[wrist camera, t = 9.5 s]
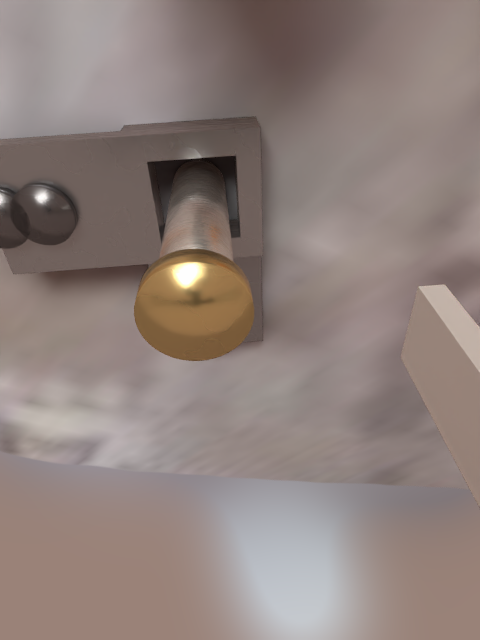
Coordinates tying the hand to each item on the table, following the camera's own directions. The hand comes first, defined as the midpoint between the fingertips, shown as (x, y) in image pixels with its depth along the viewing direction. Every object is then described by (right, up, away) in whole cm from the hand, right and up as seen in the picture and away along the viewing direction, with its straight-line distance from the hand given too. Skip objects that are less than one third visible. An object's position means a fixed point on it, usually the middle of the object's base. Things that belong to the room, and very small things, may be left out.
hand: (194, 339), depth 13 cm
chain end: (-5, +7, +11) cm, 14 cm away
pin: (-1, +8, +12) cm, 15 cm away
